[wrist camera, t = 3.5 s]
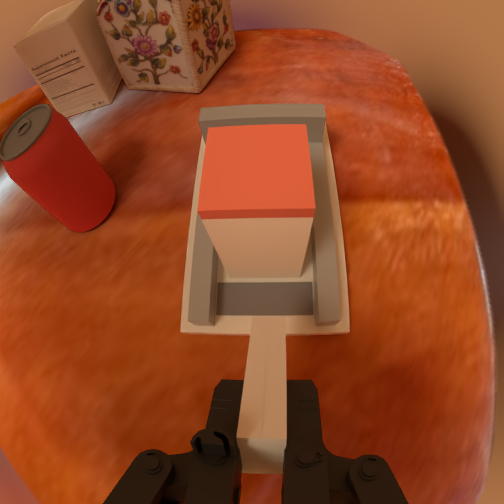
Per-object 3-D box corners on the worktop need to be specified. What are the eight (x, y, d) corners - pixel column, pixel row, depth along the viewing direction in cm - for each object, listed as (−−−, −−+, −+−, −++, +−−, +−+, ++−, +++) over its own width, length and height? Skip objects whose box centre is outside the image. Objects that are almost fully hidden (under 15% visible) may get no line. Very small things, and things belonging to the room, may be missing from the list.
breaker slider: (299, 277, 22) (315, 208, 13) (229, 278, 22) (197, 211, 13) (297, 215, 23) (306, 124, 14) (232, 216, 24) (208, 127, 15)
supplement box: (80, 83, 37) (43, 14, 23) (128, 68, 37) (95, -11, 23) (60, 121, 34) (11, 46, 20) (111, 105, 33) (66, 16, 20)
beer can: (107, 167, 29) (52, 87, 18) (127, 208, 27) (61, 122, 16) (60, 203, 28) (-6, 136, 17) (74, 247, 26) (-8, 181, 15)
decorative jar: (238, 49, 36) (223, -63, 19) (202, 96, 32) (167, -42, 15) (167, 46, 38) (139, -48, 21) (125, 91, 34) (77, -16, 18)
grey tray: (346, 333, 21) (370, 320, 16) (185, 333, 22) (154, 320, 16) (323, 127, 29) (330, 80, 23) (206, 130, 30) (193, 85, 24)
